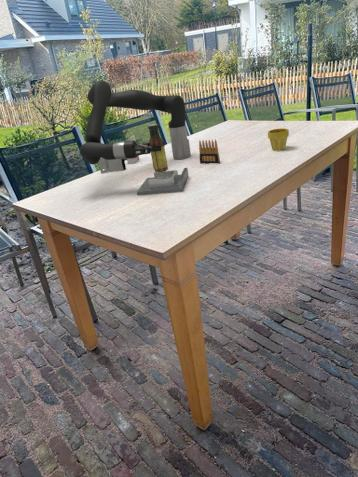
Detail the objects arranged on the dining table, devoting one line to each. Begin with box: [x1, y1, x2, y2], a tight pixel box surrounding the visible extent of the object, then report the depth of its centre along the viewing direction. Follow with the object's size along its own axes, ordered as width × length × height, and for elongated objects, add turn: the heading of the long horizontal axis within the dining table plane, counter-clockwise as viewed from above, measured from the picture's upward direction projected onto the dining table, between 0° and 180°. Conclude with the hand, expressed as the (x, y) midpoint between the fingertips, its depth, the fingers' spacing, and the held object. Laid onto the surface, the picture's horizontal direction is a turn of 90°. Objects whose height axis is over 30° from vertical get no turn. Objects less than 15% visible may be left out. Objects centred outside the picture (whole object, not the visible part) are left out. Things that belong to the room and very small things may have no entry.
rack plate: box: [136, 167, 190, 196], centre depth 164 cm, size 20×20×5 cm
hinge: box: [97, 157, 127, 174], centre depth 201 cm, size 14×5×10 cm, turn 92°
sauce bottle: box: [147, 123, 169, 172], centre depth 158 cm, size 7×6×20 cm
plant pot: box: [267, 127, 290, 151], centre depth 192 cm, size 10×10×10 cm
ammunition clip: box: [198, 139, 221, 165], centre depth 186 cm, size 11×2×12 cm, turn 59°
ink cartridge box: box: [126, 134, 140, 165], centre depth 213 cm, size 9×5×15 cm, turn 168°
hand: (162, 146), depth 157 cm, fingers closed on sauce bottle, 6 cm apart
